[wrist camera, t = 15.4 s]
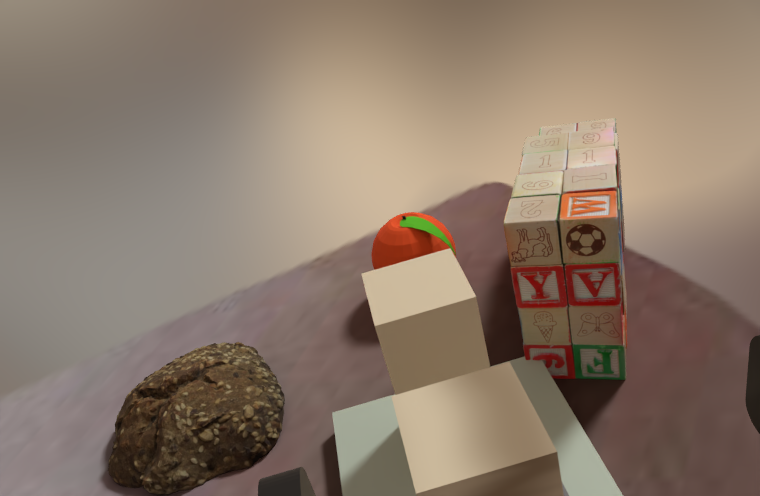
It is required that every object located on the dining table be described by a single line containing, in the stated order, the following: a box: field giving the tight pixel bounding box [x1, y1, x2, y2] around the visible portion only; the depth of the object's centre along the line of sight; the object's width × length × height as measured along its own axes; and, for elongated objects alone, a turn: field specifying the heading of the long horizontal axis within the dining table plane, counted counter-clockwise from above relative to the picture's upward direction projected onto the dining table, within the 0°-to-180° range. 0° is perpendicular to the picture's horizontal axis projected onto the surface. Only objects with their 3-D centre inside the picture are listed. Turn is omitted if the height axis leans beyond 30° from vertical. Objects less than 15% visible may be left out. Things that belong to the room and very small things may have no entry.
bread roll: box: [108, 342, 285, 495], centre depth 46 cm, size 13×12×5 cm
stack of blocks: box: [504, 119, 627, 380], centre depth 48 cm, size 21×6×12 cm, turn 163°
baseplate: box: [332, 248, 623, 496], centre depth 32 cm, size 14×20×12 cm
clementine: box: [372, 212, 456, 270], centre depth 53 cm, size 8×7×7 cm
